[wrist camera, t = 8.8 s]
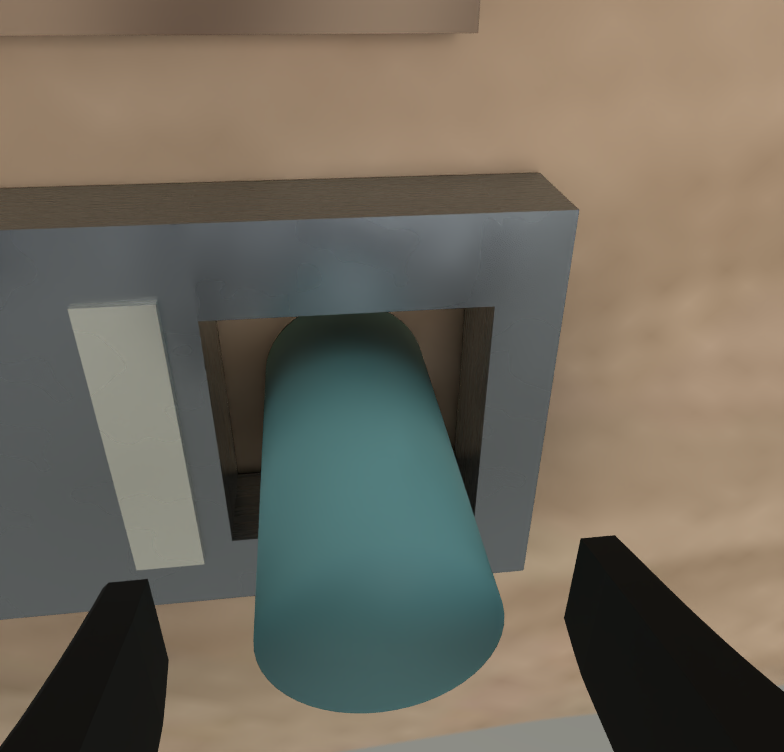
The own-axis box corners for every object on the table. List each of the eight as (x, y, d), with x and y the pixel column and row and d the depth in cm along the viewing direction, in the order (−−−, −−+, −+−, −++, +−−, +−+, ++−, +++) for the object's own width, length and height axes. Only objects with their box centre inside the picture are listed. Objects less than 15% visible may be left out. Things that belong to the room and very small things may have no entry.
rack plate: (-109, 557, 19) (-162, 641, 17) (-298, 196, 14) (-412, 248, 12) (499, 506, 21) (525, 576, 19) (539, 172, 16) (583, 213, 13)
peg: (272, 441, 19) (265, 725, 12) (258, 306, 17) (239, 560, 10) (420, 430, 19) (493, 698, 12) (425, 298, 17) (515, 534, 10)
